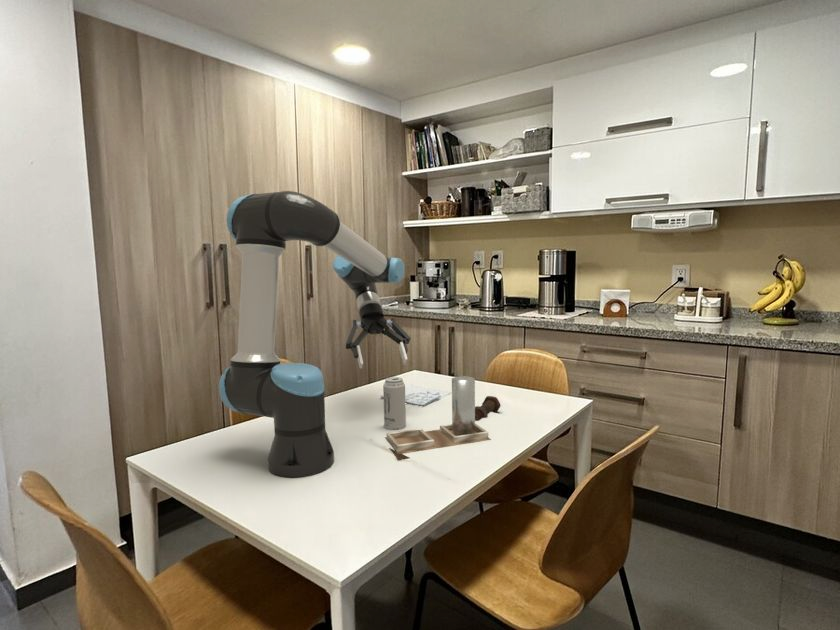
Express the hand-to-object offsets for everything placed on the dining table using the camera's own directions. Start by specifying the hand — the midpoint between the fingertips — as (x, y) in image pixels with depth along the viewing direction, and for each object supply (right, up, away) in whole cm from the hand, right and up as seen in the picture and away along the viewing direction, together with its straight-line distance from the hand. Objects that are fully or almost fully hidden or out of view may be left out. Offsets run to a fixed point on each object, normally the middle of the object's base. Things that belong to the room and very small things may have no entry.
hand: (383, 364), depth 142 cm
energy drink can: (+4, -18, -8) cm, 20 cm away
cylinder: (+22, -17, -16) cm, 32 cm away
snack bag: (+10, -15, +27) cm, 33 cm away
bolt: (+30, -17, +2) cm, 34 cm away
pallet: (+15, -19, -18) cm, 30 cm away
